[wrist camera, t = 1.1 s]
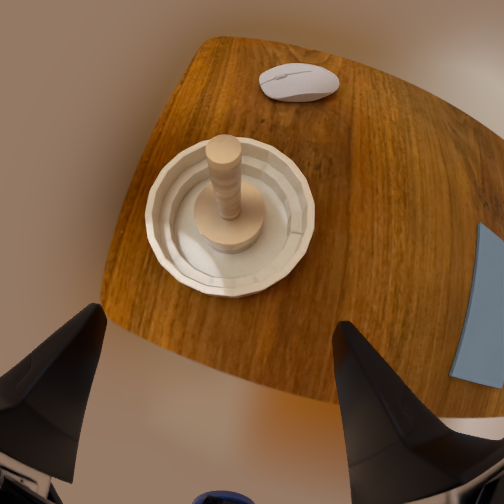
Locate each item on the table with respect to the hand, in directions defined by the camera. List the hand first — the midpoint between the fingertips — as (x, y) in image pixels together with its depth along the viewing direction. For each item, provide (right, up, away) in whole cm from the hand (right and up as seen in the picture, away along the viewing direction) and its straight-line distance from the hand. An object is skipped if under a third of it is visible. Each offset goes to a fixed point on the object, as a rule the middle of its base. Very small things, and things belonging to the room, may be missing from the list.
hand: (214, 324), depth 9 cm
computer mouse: (+7, +23, +20) cm, 31 cm away
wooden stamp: (-1, +5, +15) cm, 16 cm away
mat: (+34, -5, +15) cm, 38 cm away
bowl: (-1, +5, +15) cm, 16 cm away
